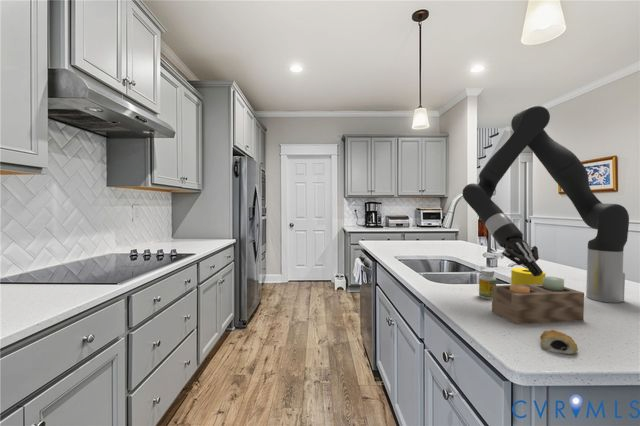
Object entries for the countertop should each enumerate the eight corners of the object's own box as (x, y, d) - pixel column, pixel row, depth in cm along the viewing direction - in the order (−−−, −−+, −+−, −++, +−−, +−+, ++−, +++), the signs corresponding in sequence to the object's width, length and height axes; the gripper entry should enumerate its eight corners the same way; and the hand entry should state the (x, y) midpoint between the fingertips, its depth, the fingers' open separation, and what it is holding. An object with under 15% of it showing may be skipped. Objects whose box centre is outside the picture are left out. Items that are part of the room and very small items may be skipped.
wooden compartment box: (553, 308, 99) (553, 283, 98) (583, 320, 89) (584, 292, 89) (491, 311, 96) (492, 285, 96) (516, 324, 86) (516, 295, 86)
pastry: (538, 336, 79) (539, 321, 79) (572, 342, 75) (573, 327, 75) (541, 351, 71) (541, 334, 71) (579, 359, 67) (580, 341, 67)
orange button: (520, 294, 94) (520, 284, 94) (534, 299, 89) (534, 288, 89) (505, 294, 94) (505, 284, 94) (518, 299, 89) (518, 289, 89)
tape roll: (522, 292, 117) (523, 267, 117) (551, 299, 108) (552, 272, 108) (504, 295, 113) (505, 269, 113) (532, 303, 104) (533, 275, 104)
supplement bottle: (484, 294, 115) (484, 268, 114) (499, 297, 110) (499, 270, 110) (475, 296, 112) (476, 269, 111) (490, 300, 107) (491, 272, 107)
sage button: (553, 286, 96) (553, 276, 96) (568, 290, 91) (568, 280, 91) (538, 286, 95) (538, 276, 95) (553, 291, 90) (553, 280, 90)
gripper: (494, 223, 98) (530, 269, 87) (525, 221, 102) (564, 265, 91) (480, 238, 104) (513, 283, 92) (511, 236, 108) (546, 279, 96)
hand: (539, 274), depth 92 cm, fingers closed
